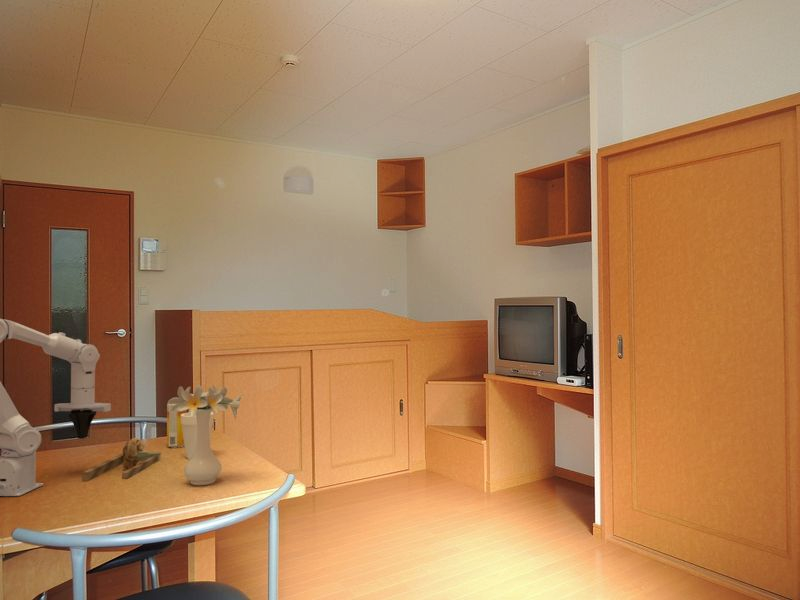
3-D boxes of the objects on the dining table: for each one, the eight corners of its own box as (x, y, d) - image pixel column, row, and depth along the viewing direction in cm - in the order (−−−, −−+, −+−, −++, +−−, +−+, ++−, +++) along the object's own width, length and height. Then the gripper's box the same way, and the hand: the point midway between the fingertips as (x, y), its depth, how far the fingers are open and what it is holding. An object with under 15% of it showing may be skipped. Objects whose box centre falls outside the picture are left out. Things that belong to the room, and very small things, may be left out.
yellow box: (189, 444, 196) (189, 399, 197) (183, 448, 190) (183, 401, 191) (170, 444, 196) (171, 399, 196) (164, 448, 190) (164, 402, 190)
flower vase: (246, 483, 151) (246, 385, 151) (169, 493, 143) (169, 390, 143) (237, 471, 162) (237, 380, 163) (165, 479, 154) (166, 384, 155)
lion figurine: (145, 470, 163) (145, 438, 164) (124, 473, 160) (124, 440, 161) (136, 459, 176) (136, 429, 176) (117, 462, 173) (117, 431, 173)
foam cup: (197, 452, 185) (197, 410, 185) (219, 455, 181) (220, 412, 181) (173, 458, 177) (174, 415, 177) (196, 462, 173) (196, 417, 173)
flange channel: (123, 481, 153) (123, 471, 153) (82, 480, 153) (82, 471, 153) (160, 459, 176) (160, 451, 176) (125, 459, 176) (125, 451, 176)
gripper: (116, 385, 164) (116, 434, 164) (65, 385, 164) (65, 434, 164) (103, 389, 157) (102, 440, 156) (49, 389, 157) (49, 440, 157)
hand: (82, 437), depth 160 cm, fingers closed
